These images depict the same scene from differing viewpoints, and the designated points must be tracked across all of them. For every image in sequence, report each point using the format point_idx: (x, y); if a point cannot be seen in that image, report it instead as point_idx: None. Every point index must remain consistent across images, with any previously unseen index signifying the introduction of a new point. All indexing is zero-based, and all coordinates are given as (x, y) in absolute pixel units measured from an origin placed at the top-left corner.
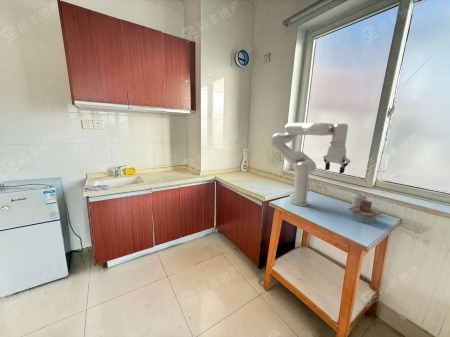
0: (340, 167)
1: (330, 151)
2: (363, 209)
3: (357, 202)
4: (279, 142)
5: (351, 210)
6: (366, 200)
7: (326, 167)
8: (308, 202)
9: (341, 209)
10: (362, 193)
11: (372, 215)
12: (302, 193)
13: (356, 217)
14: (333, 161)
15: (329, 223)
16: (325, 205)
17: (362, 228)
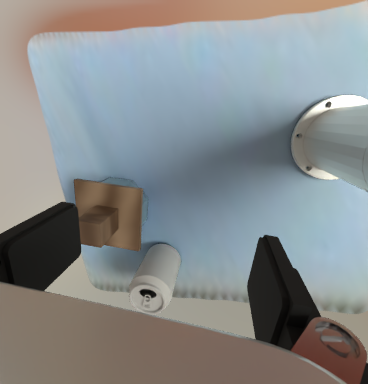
0: (3, 239)
1: None
2: (102, 209)
3: (151, 261)
4: None
5: (132, 187)
6: (94, 245)
7: (269, 258)
8: (300, 166)
9: (193, 223)
10: (148, 313)
11: (76, 197)
12: (343, 120)
13: (122, 182)
14: (34, 317)
15: (149, 72)
16: (245, 210)
17: (88, 141)
